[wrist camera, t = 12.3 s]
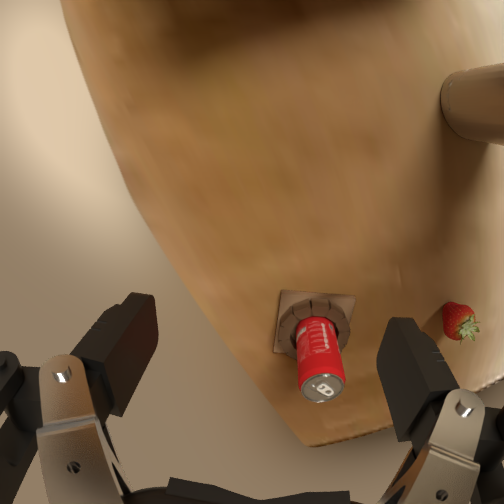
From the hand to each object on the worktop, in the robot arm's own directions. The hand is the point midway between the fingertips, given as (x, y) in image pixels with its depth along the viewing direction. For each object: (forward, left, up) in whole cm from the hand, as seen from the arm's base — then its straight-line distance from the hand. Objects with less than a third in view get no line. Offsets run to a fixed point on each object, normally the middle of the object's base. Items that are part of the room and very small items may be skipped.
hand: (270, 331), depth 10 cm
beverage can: (-7, +19, -27) cm, 34 cm away
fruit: (-28, +15, -28) cm, 42 cm away
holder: (-7, +19, -28) cm, 34 cm away
